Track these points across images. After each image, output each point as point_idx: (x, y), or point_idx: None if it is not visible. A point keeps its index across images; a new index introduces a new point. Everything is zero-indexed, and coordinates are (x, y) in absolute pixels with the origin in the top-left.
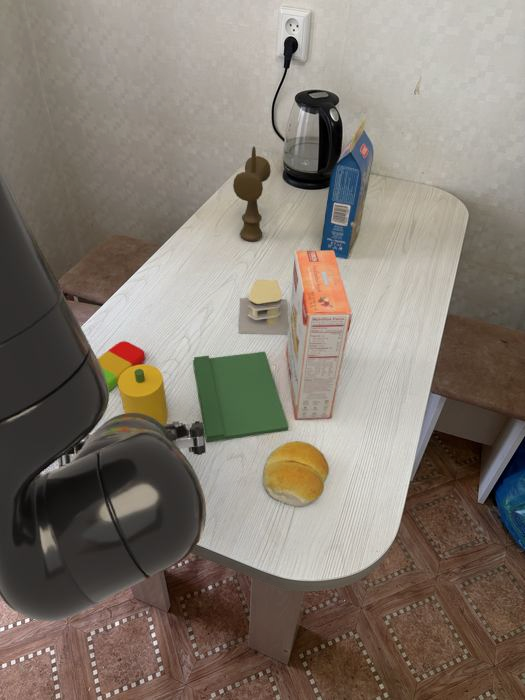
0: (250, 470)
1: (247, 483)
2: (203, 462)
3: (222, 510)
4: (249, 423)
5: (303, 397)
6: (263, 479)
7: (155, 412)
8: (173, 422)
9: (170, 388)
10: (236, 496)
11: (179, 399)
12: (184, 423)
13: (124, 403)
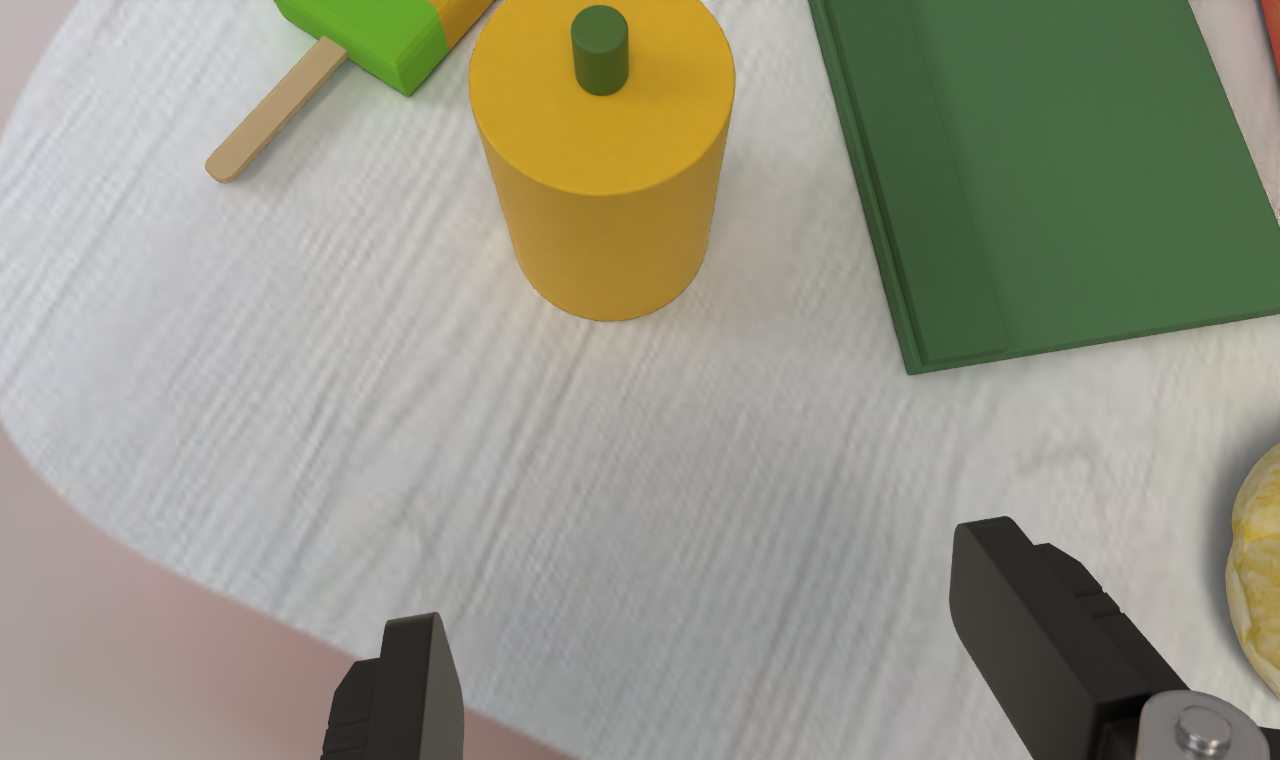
0: (1139, 534)
1: (1134, 606)
2: (908, 486)
3: None
4: (1116, 280)
5: None
6: (1238, 611)
7: (678, 247)
8: (984, 541)
9: None
10: None
11: (750, 135)
12: (1221, 700)
13: (514, 208)
